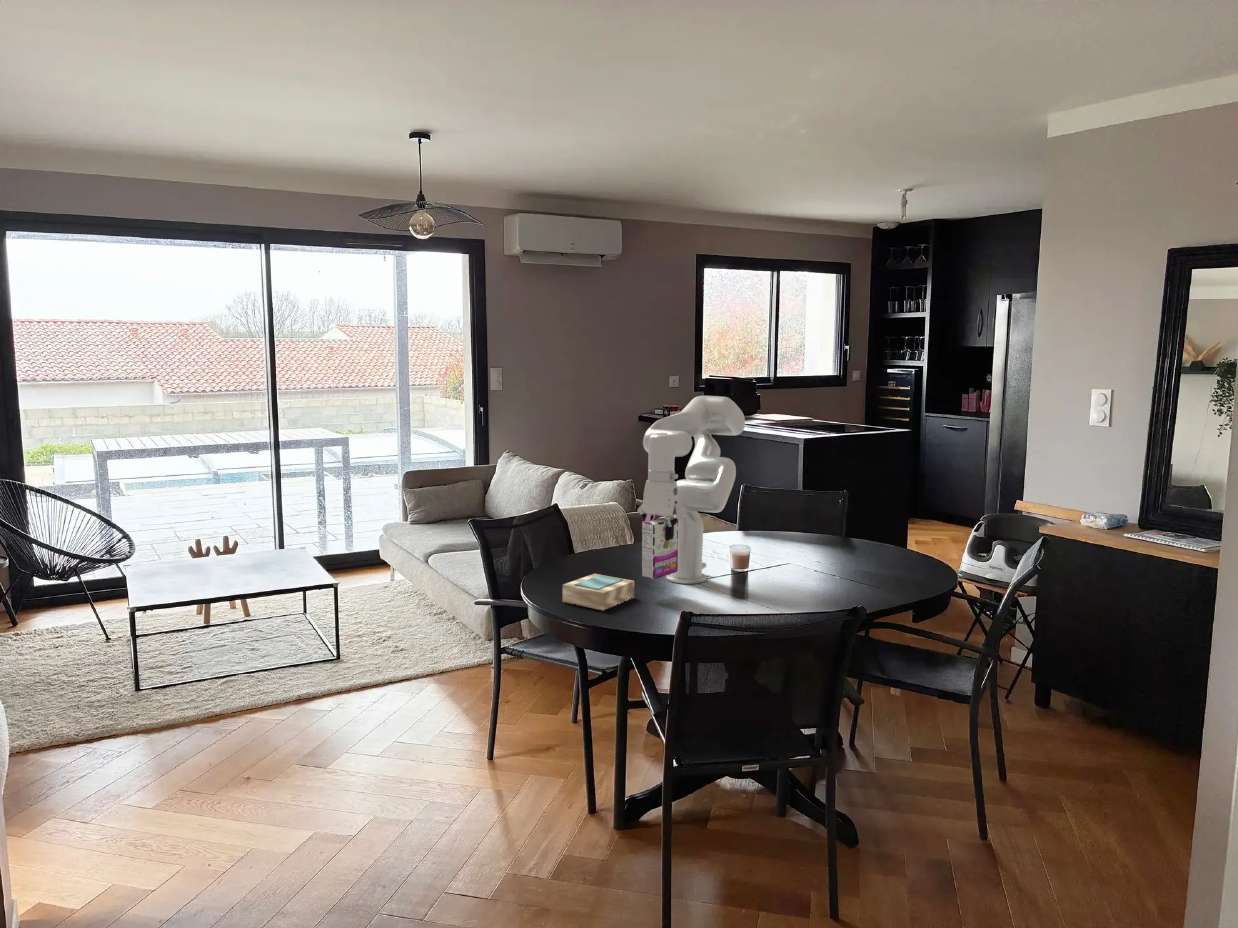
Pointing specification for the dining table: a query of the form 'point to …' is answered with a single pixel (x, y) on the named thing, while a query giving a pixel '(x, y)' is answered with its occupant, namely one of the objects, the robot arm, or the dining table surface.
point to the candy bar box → (658, 549)
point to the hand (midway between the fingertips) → (660, 537)
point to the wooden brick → (598, 591)
